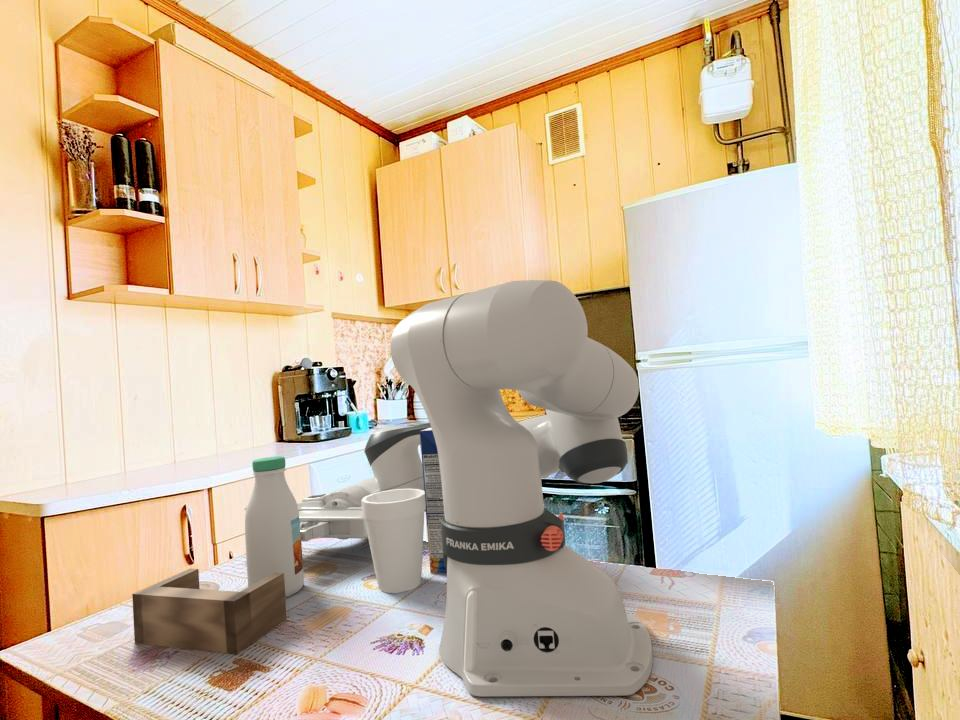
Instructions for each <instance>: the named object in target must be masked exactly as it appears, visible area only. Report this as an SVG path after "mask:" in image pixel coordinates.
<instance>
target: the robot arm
mask: <svg viewBox="0 0 960 720" xmlns="http://www.w3.org/2000/svg"><path fill="white" fill-rule="evenodd" d="M588 329H589V328H588V321H587V317H586V314H585V310H584V309H583V306H582V304H581V303H580V301H579V299H578V298H577V297H576V295H575V294H574V293H573V292H572V291H571V290H570V289H569V287H567V286H566V285H565V284H563V283H561V282H559V281H556V280H549V279H548V280H546V279H545V280H544V279H542V280H540V279H539V280H536V279H535V280H533V279H532V280H529V279H528V280H512V281H508V282H503V283H500V284H496V285H494V286H490V287H486V288H481V289H478V290H475V291H471V292H465V293H462V294H458V295H454V296H450V297H446V298H443V299H439V300H436V301H431V302H428V303H426V304H424V305H422V306H421V307H419V308H417V309H416V310H414V311H412V312H411V313H410V314H408V315H407V316H405V317H404V318H402V319H401V320H400V321H399V322H398V323H397V325H396V327H395V328H394V330H393V332H392V335H391V340H390V355H391V360H392V364H393V365H394V368H395V370H396V371H397V373H398V375H399V376H400V377H401V378H402V379H403V380H404V381H406V383H407V384H409V386H410V387H411V388H412V390H413V391H414V392H415V393H416V395H417V397H418V399H419V401H420V403H421V406H422V407H423V410H424V412H425V415H426V417H427V419H428V423H426V422H425V423H421V424H416V425H408V426H406V425H405V426H402V425H400V426H399V425H396V426H395V425H394V426H387V427H383V428H381V429H378V430H377V431H375V432H374V433H372V434H371V435H370V436H369V438H368V440H367V442H366V445H365V448H364V454H365V456H366V458H367V461H368V464H369V466H370V467H371V470H372V473H373V476H374V477H371V478H368V479H365V480H362V481H359V482H357V483H355V484H354V485H350V486H347V487H344V488H342V489H337V490H334V491H332V492H329V493H323V494H316V495H308V496H306V497H304V498H302V500H301V501H302V502H297V506H298V510H299V519H300V530H301V542H310V541H311V540H314V539H322V538H323V539H338V540H348V539H349V540H350V539H361V540H362V539H368V535H367V530H366V525H365V520H364V517H362V503H361V500H362V499H363V497H365V496H368V495H370V494H373V493H377V492H381V491H387V490H394V489H420V490H423V491H424V481H423V467H422V458H421V456H420V453H419V446H421V441H420V431H422V430H425V429H428V428H432V431H433V435H434V438H435V442H436V446H437V451H438V456H439V465H440V474H441V483H442V494H443V505H444V516H443V517H442V519H441V531H442V533H441V542H442V552H443V558H444V565H445V567H446V568H447V573H446V593H445V594H446V597H445V612H444V621H443V626H442V632H441V633H442V634H441V637H440V639H441V640H440V644H439V649H438V651H439V656H440V659H441V660H442V662H443V663H444V665H445V666H446V667H447V668H448V669H450V670H451V671H453V672H454V673H455V674H457V675H458V676H459V677H461V679H462V681H463V683H464V686H465V689H466V690H467V691H468V692H469V694H470V695H472V696H474V697H585V696H586V697H591V696H592V697H594V696H595V697H597V696H598V697H601V696H603V697H604V696H607V697H608V696H610V697H611V696H612V697H613V696H630V695H634V694H635V693H637V692H638V691H640V689H642V688H643V686H644V685H645V684H646V683H647V681H648V679H649V677H650V676H651V673H652V670H653V669H652V668H653V664H654V663H653V662H654V653H653V651H654V650H653V646H652V641H651V640H652V639H651V635H650V633H649V630H648V628H647V627H646V625H645V624H644V623H643V621H642V620H641V619H639V618H638V617H637V616H636V615H634V614H632V613H627V611H626V608H625V604H624V601H623V598H622V595H621V592H620V590H619V588H618V585H617V583H616V582H615V580H614V579H613V578H612V577H611V575H610V574H608V573H607V572H606V571H604V570H602V569H601V568H600V567H598V566H597V565H595V563H592V562H591V561H589V560H588V559H586V558H585V557H584V556H583V555H581V554H579V552H577V551H575V550H574V549H572V548H571V547H569V546H568V545H567V544H566V532H565V531H566V530H565V526H564V525H565V521H564V514H563V513H562V512H560V513H559V515H556V514H554V513H553V512H551V511H550V510H548V509H547V508H545V505H544V495H543V486H542V485H543V484H542V479H544V478H546V477H549V476H552V475H554V474H556V473H558V472H562V473H565V474H566V476H567V478H569V479H571V480H573V481H574V482H577V483H578V484H600V483H603V482H606V481H609V480H611V479H613V478H614V477H615V476H617V475H619V474H620V473H622V472H623V471H624V469H625V468H626V466H627V464H628V461H629V460H628V459H629V457H628V449H627V443H626V441H624V440H623V435H622V430H621V429H622V428H621V426H620V421H619V418H620V417H622V416H623V415H625V414H627V413H629V411H630V410H631V409H632V408H633V406H634V405H635V403H636V401H637V399H638V396H639V391H640V384H639V383H640V382H639V379H638V376H637V373H636V371H635V370H634V368H633V367H632V366H631V365H630V364H629V363H628V362H627V360H625V359H624V358H623V357H622V356H621V355H619V354H618V353H616V352H615V351H614V350H612V349H611V348H609V347H608V346H606V345H604V344H602V343H601V342H599V341H596V340H595V339H592V338H591V337H588V335H589V334H588V331H589V330H588ZM500 390H513V391H517V393H518V394H519V395H520V397H521V399H523V401H525V402H526V403H527V404H529V405H530V406H533V407H537V408H541V409H544V410H545V414H543V415H537V416H533V417H530V418H526V419H523V420H520V421H519V420H518V421H517V420H515V418H514V417H513V416H512V415H511V412H510V411H509V410H508V409H507V406H506V404H505V402H504V400H503V396H502V394H501V391H500ZM424 513H426V510H425V511H424Z"/></svg>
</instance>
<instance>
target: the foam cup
mask: <svg viewBox="0 0 960 720" xmlns="http://www.w3.org/2000/svg"><path fill="white" fill-rule="evenodd" d="M361 503H362V517H364V520H365V525H366V530H367V535H368V538H367V539H368V544H369V549H370V552H371V553H370V554H371V559H372V563H373V568H374V575H375V578H376V583H377V585H378V587H377V588H378V590H379V591H380V592H383V593H388V594H394V593H396V594H399V593H403V592H409V591H411V590H413V589H415V588H417V587H418V586H420V585H421V584H422V575H423V574H422V570H423V568H422V567H423V549H424V531H425V529H424V528H425V527H424V526H425V512H426V511H425V510H426V500H425V491H423V490H420V489H394V490H387V491H381V492H377V493H373V494H370V495H368V496H365V497H363V499H362V500H361ZM424 511H425V512H424Z"/></svg>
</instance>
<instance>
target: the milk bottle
mask: <svg viewBox="0 0 960 720" xmlns="http://www.w3.org/2000/svg"><path fill="white" fill-rule="evenodd" d="M252 471H253V472H252V475H253V476H254V485H253V488H252V492H251V495H250V498H249V500H248V503H247V506H246V509H245V515H244V516H245V517H244V536H245V537H244V538H245V554H246V555H245V556H246V557H245V558H246V559H245V560H246V573H247V576H246V577H247V587H249V586H251V585H253V584H255V583H256V582H258V581H260V580H262V579H264V578H266V577H267V576H269V575H271V574H273V573H284V582H285V598H287V597H291V596H292V595H294V594H297V593H298V592H300V591H301V590H302V588H303V586H304V581H305V579H304V563H303V561H304V559H303V547H302V541H301V530H300V519H299V510H298V506H297V504H298V501H296V498H295V496H294V494H293V492H292V491H291V489H290V486H289V484H288V483H287V480H286V477H285V472H286V457H284V456H282V455H281V456H280V455H279V456H268V457H267V456H266V457H262V458H257V459H253V460H252Z"/></svg>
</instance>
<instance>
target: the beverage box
mask: <svg viewBox="0 0 960 720" xmlns="http://www.w3.org/2000/svg"><path fill="white" fill-rule="evenodd" d="M420 441H421V445H420V450H421V451H420V452H421V462H422V467H423V481H424V491H425V500H426V511H425V517H426V519H425V520H426V530H427V531H426V533H427V544H428V558H429V559H428V560H429V570H430V572H429V573H430V574H447V568H446V567H445V565H444V558H443V552H442V542H441V533H442V531H441V519H442V517H443V516H444V505H443V494H442V483H441V474H440V465H439V456H438V451H437V446H436V442H435V438H434V435H433V431H432V428H428V429H425V430H422V431H420Z"/></svg>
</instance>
